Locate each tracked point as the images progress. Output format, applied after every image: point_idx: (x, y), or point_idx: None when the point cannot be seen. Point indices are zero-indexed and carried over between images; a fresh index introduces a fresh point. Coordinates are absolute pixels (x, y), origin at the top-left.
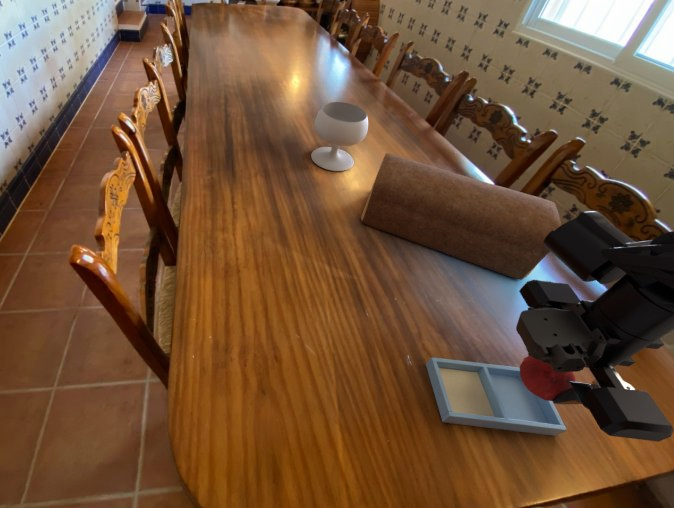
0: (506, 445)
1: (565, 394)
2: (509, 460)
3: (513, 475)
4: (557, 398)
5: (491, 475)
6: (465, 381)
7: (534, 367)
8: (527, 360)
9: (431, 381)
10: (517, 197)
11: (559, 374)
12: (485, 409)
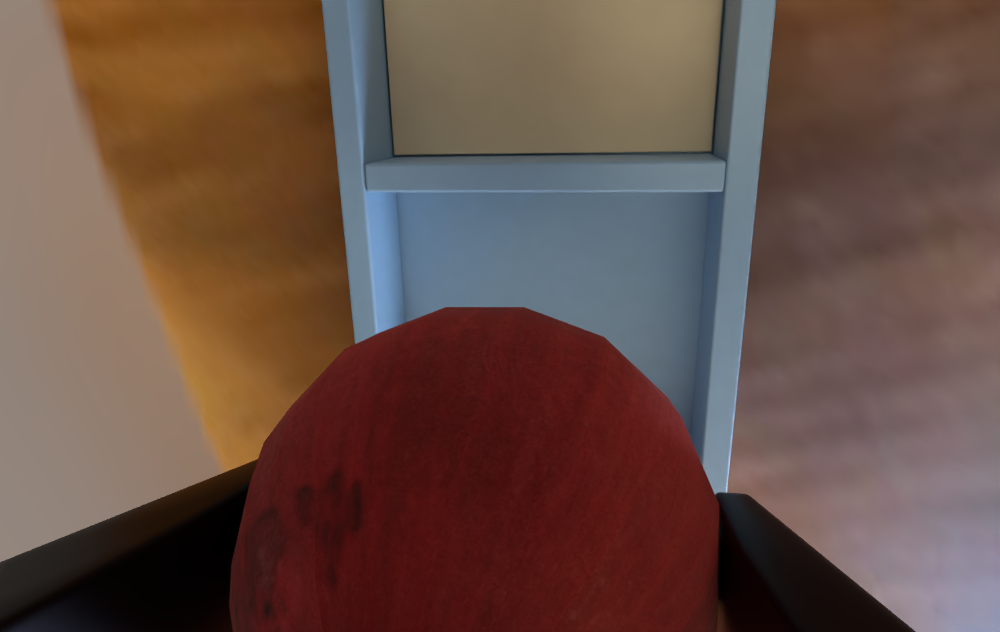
0: (306, 174)
1: (58, 573)
2: (239, 158)
3: (178, 148)
4: (209, 492)
5: (146, 22)
6: (633, 25)
7: (460, 419)
8: (607, 408)
9: None
10: None
11: None
12: (457, 108)
